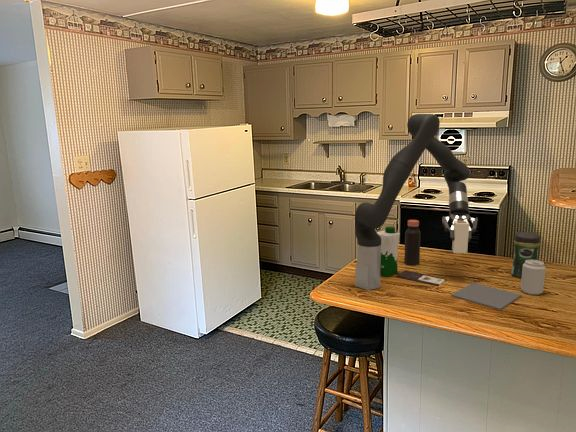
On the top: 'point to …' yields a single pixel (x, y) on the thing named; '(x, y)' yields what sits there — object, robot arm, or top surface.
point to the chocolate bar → (421, 278)
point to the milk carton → (389, 251)
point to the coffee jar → (524, 250)
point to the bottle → (412, 243)
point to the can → (533, 277)
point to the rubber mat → (486, 296)
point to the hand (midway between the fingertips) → (461, 240)
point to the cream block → (460, 237)
